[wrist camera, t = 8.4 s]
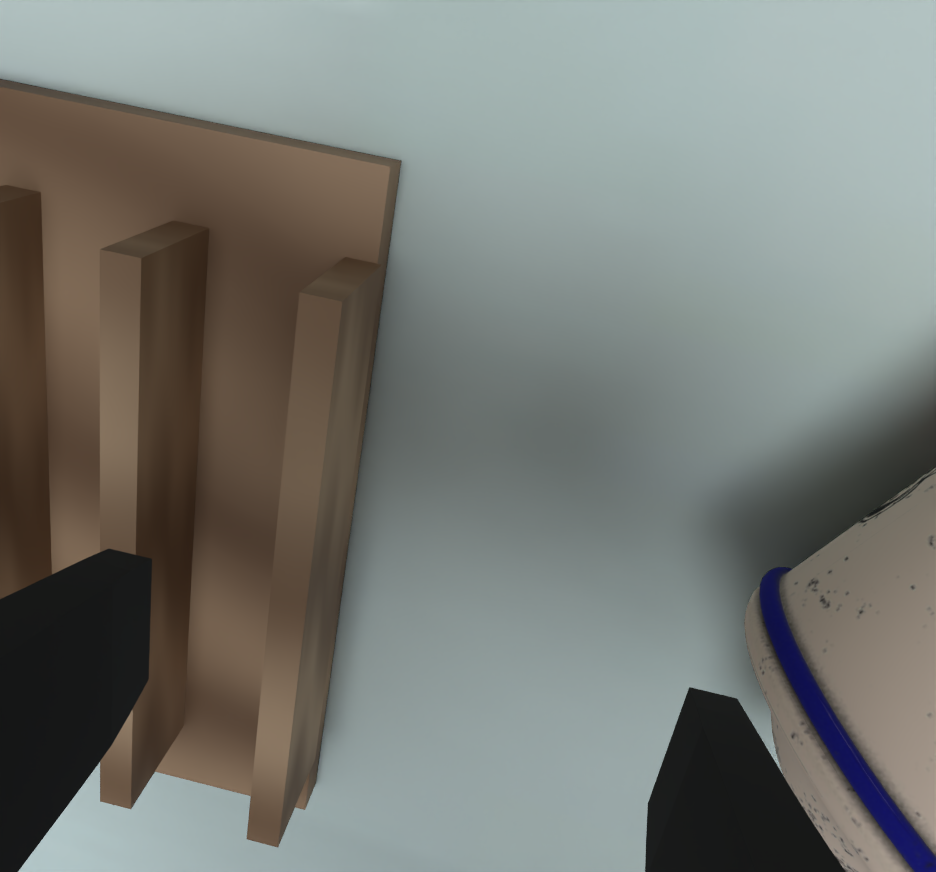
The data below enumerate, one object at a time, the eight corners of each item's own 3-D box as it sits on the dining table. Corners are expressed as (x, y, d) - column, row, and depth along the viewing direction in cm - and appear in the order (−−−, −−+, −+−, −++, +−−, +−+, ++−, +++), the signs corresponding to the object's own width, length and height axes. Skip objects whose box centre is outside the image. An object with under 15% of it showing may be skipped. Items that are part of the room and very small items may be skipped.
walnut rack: (318, 784, 26) (271, 901, 23) (-68, 686, 27) (-173, 785, 23) (405, 161, 19) (355, 189, 15) (-133, 52, 20) (-303, 52, 16)
